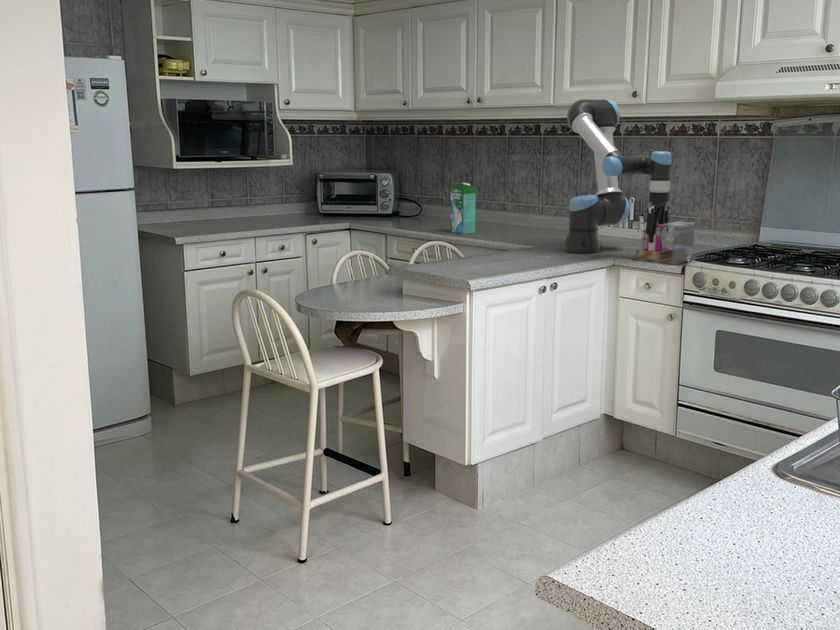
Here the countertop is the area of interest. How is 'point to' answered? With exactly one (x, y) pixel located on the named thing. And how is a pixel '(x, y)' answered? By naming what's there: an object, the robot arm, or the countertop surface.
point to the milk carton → (463, 208)
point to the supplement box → (659, 238)
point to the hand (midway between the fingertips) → (656, 249)
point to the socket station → (680, 246)
